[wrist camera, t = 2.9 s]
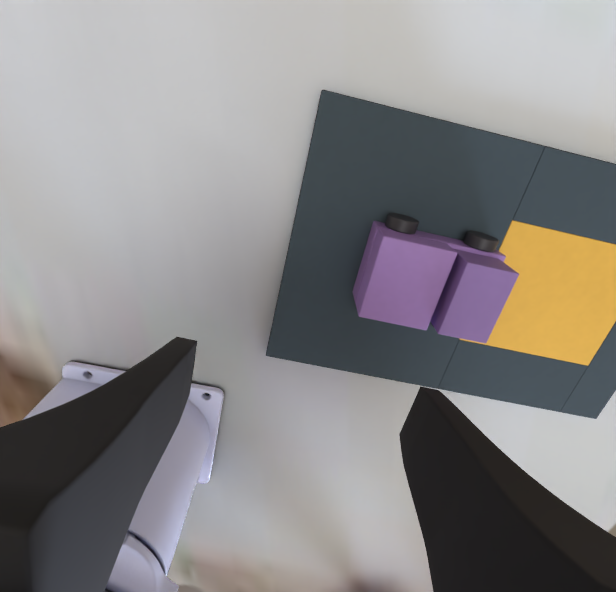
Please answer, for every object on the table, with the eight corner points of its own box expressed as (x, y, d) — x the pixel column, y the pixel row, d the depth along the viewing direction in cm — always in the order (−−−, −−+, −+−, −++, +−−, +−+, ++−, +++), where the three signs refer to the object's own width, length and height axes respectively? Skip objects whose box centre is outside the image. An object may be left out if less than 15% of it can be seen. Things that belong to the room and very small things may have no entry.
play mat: (266, 352, 23) (265, 356, 22) (321, 90, 17) (322, 89, 17) (592, 414, 25) (596, 419, 24) (738, 195, 19) (747, 197, 19)
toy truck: (348, 302, 21) (355, 333, 18) (376, 208, 19) (389, 225, 16) (460, 325, 22) (485, 359, 18) (499, 236, 19) (535, 258, 16)
